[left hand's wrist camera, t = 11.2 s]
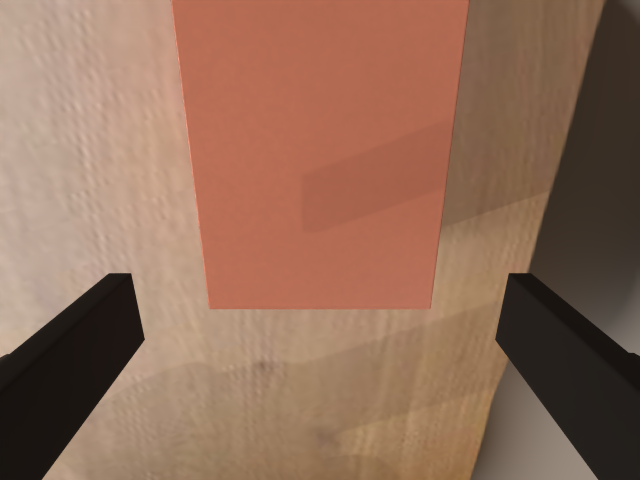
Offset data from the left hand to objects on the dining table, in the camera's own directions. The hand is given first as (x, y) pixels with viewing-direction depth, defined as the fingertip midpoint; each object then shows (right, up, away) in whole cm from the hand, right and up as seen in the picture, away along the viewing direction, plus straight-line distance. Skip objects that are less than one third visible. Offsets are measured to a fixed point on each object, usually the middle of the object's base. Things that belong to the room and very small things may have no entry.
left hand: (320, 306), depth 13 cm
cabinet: (0, +10, +11) cm, 15 cm away
